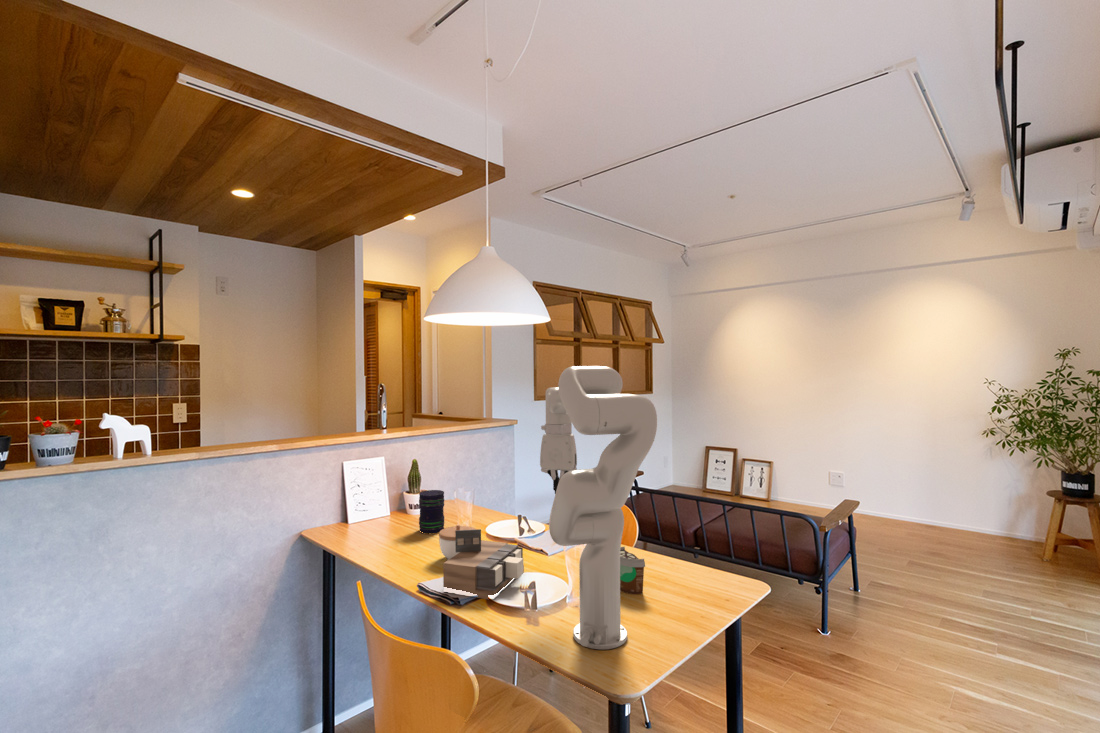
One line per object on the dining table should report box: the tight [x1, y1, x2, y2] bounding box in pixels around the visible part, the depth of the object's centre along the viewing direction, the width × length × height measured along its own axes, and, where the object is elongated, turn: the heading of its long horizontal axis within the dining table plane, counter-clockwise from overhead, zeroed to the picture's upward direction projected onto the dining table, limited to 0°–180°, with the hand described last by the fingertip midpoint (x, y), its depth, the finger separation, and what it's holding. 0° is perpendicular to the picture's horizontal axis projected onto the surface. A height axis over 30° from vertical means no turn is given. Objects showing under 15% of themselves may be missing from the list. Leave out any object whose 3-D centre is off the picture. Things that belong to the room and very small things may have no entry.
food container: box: [620, 546, 646, 595], centre depth 150 cm, size 12×6×10 cm, turn 21°
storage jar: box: [418, 489, 445, 534], centre depth 208 cm, size 10×10×15 cm
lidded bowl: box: [438, 524, 477, 561], centre depth 176 cm, size 13×13×11 cm
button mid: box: [503, 557, 524, 580], centre depth 153 cm, size 4×5×4 cm
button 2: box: [511, 549, 521, 558], centre depth 161 cm, size 4×5×4 cm
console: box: [442, 528, 525, 600], centre depth 156 cm, size 22×17×15 cm
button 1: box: [491, 564, 502, 586], centre depth 147 cm, size 4×5×4 cm
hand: (559, 493), depth 152 cm, fingers closed
